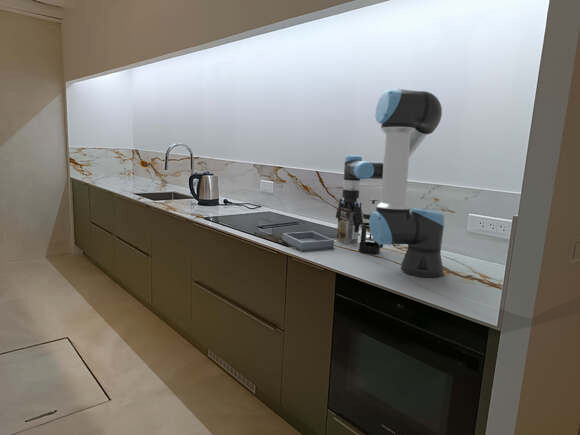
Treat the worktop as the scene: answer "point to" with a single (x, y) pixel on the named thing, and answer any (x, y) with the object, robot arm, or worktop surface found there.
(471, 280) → the worktop surface
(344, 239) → the coffee box
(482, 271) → the worktop surface
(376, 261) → the worktop surface
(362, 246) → the french press
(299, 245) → the bin
